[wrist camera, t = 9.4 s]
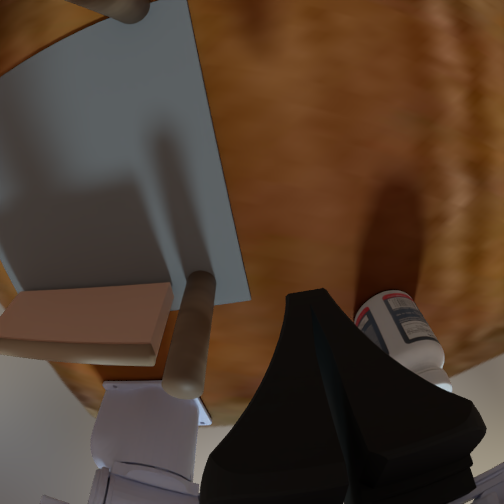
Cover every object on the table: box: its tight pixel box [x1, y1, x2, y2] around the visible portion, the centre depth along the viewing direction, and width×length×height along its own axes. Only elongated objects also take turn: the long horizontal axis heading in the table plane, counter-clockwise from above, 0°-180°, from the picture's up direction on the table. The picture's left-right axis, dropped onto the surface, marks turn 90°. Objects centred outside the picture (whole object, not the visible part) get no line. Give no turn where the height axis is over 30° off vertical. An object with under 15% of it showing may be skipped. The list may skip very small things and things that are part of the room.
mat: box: [0, 0, 251, 311], centre depth 18 cm, size 20×20×1 cm
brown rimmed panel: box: [0, 282, 174, 366], centre depth 18 cm, size 14×1×7 cm, turn 96°
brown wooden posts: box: [65, 0, 217, 400], centre depth 13 cm, size 2×20×9 cm, turn 10°
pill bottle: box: [354, 290, 452, 392], centre depth 20 cm, size 5×5×9 cm
